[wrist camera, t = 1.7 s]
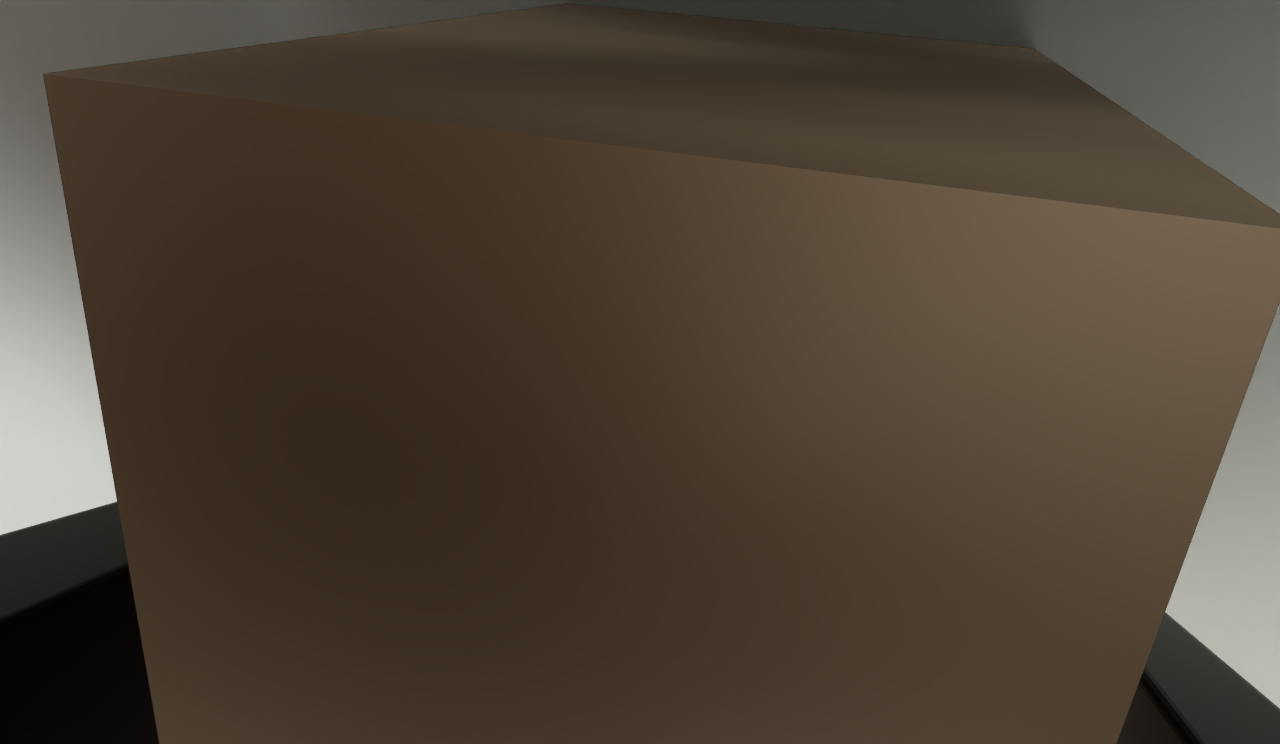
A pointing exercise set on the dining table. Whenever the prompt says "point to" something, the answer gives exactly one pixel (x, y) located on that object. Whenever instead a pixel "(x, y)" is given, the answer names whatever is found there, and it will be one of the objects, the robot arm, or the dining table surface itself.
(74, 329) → the dining table surface
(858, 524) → the walnut block
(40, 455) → the dining table surface
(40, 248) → the dining table surface
